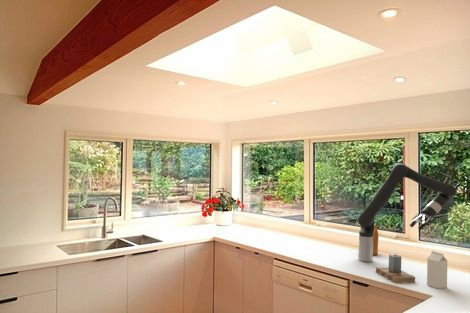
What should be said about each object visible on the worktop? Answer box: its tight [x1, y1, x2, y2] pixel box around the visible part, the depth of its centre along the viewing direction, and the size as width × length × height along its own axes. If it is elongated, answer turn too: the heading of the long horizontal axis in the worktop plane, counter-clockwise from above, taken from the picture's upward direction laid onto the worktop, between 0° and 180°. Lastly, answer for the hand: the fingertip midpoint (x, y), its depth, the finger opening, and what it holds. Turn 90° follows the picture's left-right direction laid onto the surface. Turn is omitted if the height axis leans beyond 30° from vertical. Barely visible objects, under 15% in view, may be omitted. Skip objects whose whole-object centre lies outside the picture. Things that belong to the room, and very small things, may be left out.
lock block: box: [388, 253, 402, 273], centre depth 214 cm, size 5×5×11 cm
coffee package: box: [373, 225, 379, 256], centre depth 272 cm, size 10×12×22 cm
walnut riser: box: [375, 266, 416, 284], centre depth 214 cm, size 20×13×3 cm, turn 8°
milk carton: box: [426, 250, 448, 290], centre depth 200 cm, size 7×7×19 cm
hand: (414, 227), depth 224 cm, fingers open, 8 cm apart
